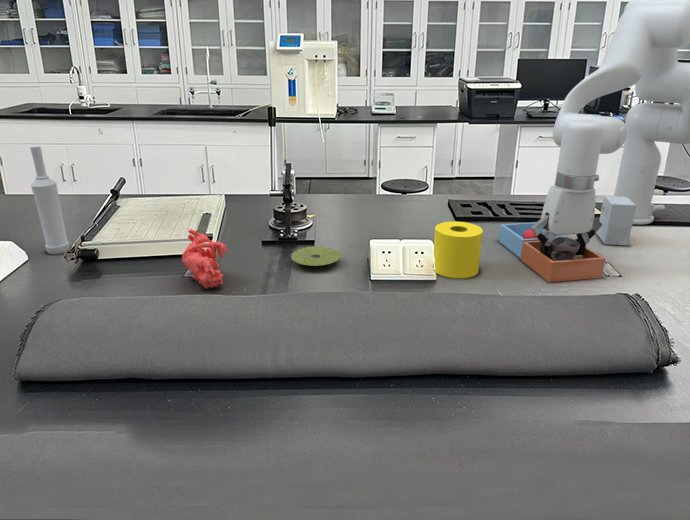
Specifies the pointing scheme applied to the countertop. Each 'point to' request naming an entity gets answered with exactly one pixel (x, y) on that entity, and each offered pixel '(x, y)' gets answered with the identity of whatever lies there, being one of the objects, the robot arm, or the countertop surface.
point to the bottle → (48, 207)
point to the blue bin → (516, 236)
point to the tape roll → (457, 249)
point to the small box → (616, 220)
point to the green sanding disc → (315, 256)
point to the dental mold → (565, 249)
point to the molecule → (529, 234)
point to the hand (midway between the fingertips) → (561, 259)
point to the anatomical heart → (203, 259)
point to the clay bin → (562, 264)
